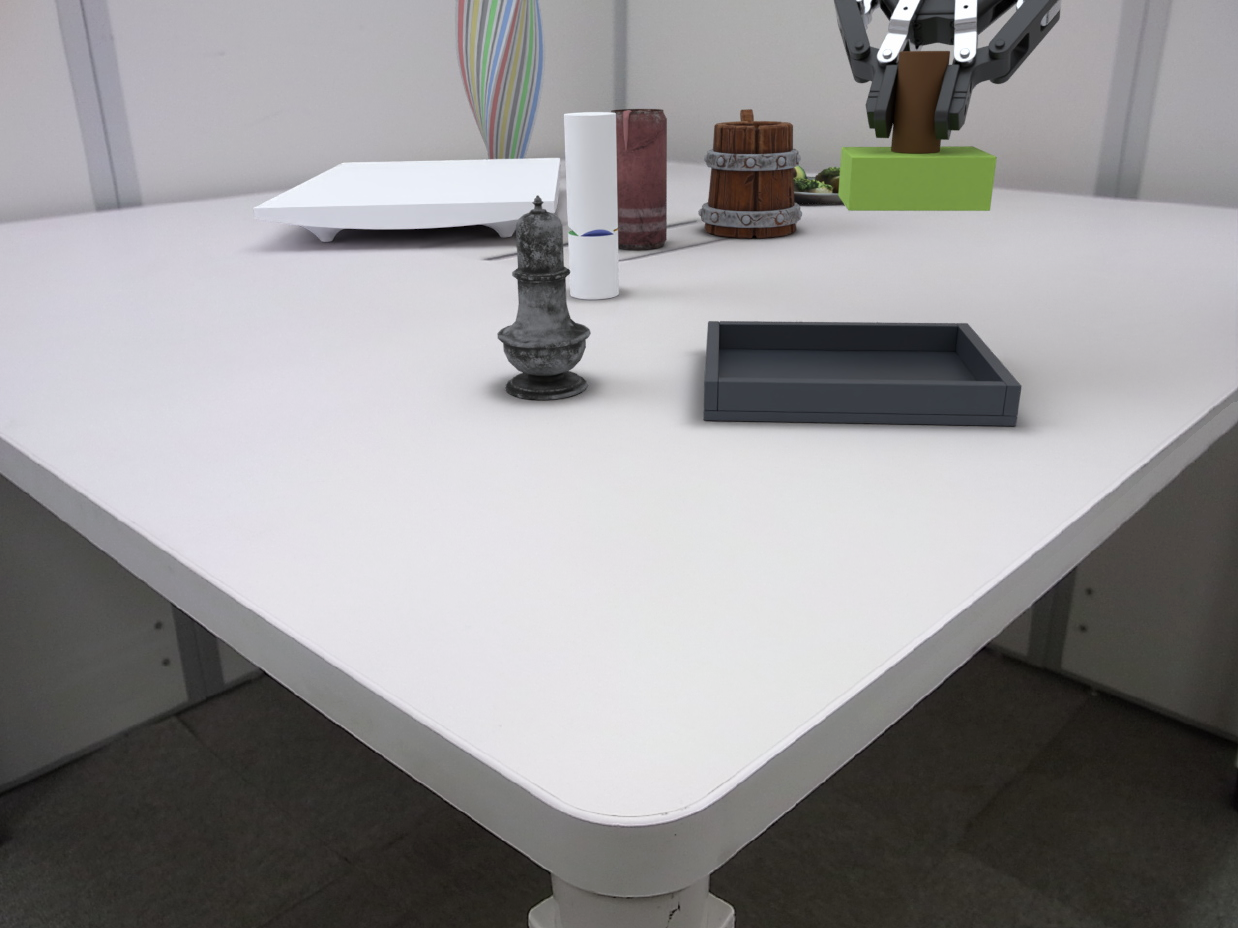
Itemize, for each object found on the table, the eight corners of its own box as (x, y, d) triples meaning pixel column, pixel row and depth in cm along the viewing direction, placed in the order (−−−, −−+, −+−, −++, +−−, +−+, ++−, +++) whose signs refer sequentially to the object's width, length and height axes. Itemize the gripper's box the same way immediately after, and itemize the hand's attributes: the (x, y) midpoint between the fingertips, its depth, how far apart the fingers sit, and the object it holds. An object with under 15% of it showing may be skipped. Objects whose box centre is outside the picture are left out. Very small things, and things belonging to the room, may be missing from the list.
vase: (555, 174, 171) (547, -22, 159) (542, 184, 159) (532, -27, 147) (477, 174, 172) (463, -20, 161) (457, 185, 160) (441, -25, 148)
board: (556, 244, 110) (554, 201, 109) (259, 252, 110) (252, 208, 108) (561, 190, 152) (560, 157, 150) (346, 195, 151) (342, 162, 149)
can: (603, 250, 108) (600, 111, 102) (617, 239, 113) (615, 107, 108) (659, 251, 106) (659, 111, 101) (671, 240, 112) (671, 107, 107)
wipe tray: (963, 357, 69) (968, 323, 68) (1016, 426, 57) (1022, 385, 56) (707, 354, 71) (708, 320, 70) (703, 420, 59) (704, 381, 58)
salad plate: (885, 187, 149) (888, 154, 148) (912, 204, 133) (916, 168, 131) (754, 188, 150) (755, 156, 149) (765, 206, 134) (766, 170, 132)
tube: (587, 286, 92) (582, 111, 86) (627, 291, 89) (625, 112, 84) (560, 296, 88) (553, 115, 82) (602, 301, 86) (598, 116, 80)
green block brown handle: (967, 196, 63) (984, 49, 60) (990, 211, 58) (1010, 50, 55) (838, 196, 64) (848, 51, 61) (848, 210, 59) (859, 53, 55)
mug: (701, 239, 111) (702, 95, 108) (694, 238, 125) (695, 111, 122) (808, 237, 111) (812, 93, 107) (789, 237, 125) (792, 110, 121)
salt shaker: (481, 387, 65) (468, 196, 60) (550, 367, 69) (543, 186, 64) (541, 407, 61) (531, 205, 56) (611, 385, 65) (607, 194, 60)
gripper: (849, -137, 63) (780, 81, 57) (1096, -159, 57) (1045, 82, 51) (862, -37, 69) (801, 168, 64) (1085, -47, 63) (1039, 177, 58)
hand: (911, 128), depth 58 cm, fingers closed on green block brown handle, 3 cm apart
